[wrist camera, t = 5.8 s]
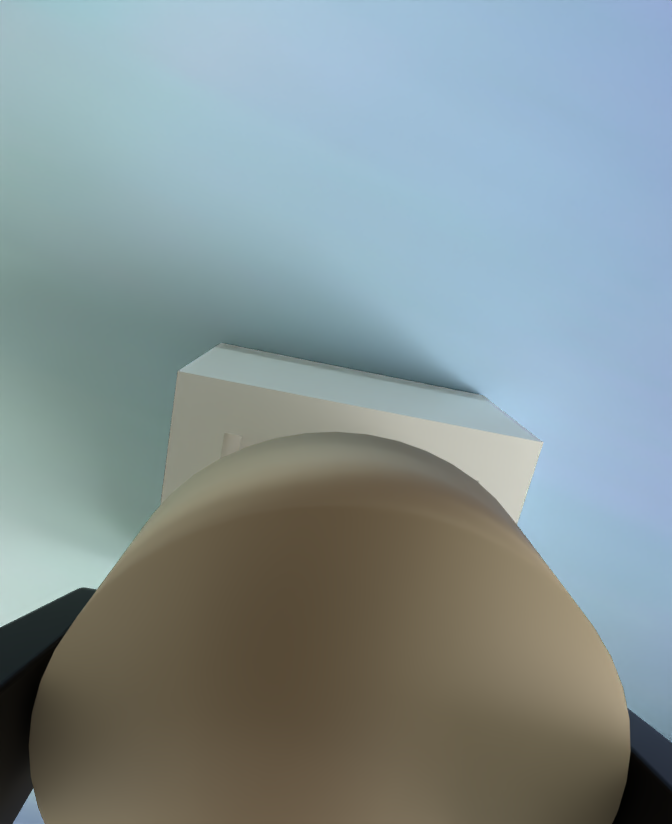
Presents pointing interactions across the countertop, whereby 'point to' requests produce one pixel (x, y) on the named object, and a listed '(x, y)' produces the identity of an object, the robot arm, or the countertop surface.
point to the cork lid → (330, 658)
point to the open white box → (339, 417)
